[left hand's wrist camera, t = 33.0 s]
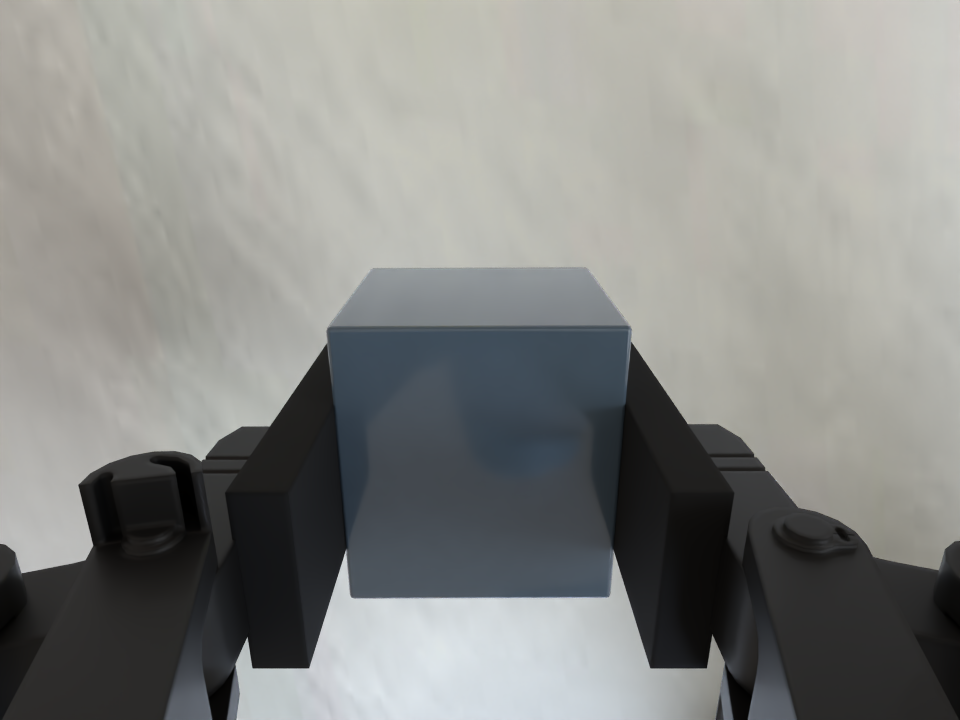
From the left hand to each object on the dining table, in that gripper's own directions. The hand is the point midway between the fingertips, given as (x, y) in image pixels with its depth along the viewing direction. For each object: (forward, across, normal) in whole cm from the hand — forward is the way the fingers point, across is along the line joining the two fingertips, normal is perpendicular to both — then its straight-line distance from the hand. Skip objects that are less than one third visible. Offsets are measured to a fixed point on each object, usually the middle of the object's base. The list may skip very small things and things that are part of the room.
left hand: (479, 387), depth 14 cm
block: (0, 0, 0) cm, 0 cm away
